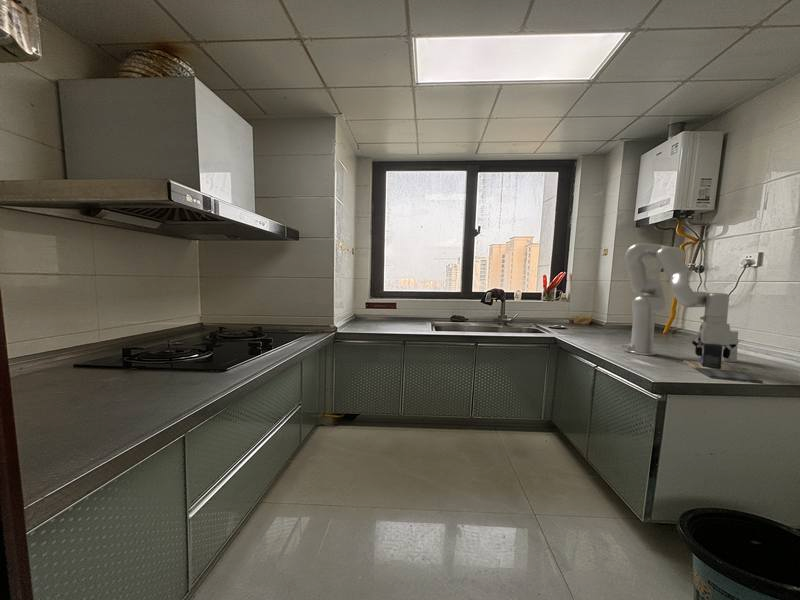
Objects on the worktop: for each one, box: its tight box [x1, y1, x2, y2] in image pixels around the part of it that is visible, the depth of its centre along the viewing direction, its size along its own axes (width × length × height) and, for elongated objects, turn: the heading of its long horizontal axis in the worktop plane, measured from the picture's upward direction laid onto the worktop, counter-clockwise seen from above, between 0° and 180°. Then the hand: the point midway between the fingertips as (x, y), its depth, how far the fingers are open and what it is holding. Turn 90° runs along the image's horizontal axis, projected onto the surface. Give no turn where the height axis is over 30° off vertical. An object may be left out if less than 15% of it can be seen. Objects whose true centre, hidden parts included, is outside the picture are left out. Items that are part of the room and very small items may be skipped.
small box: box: [699, 344, 723, 369], centre depth 147 cm, size 11×6×10 cm, turn 142°
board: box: [682, 359, 763, 383], centre depth 141 cm, size 16×26×1 cm, turn 157°
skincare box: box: [721, 329, 739, 363], centre depth 161 cm, size 8×7×16 cm
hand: (711, 356), depth 147 cm, fingers open, 9 cm apart
